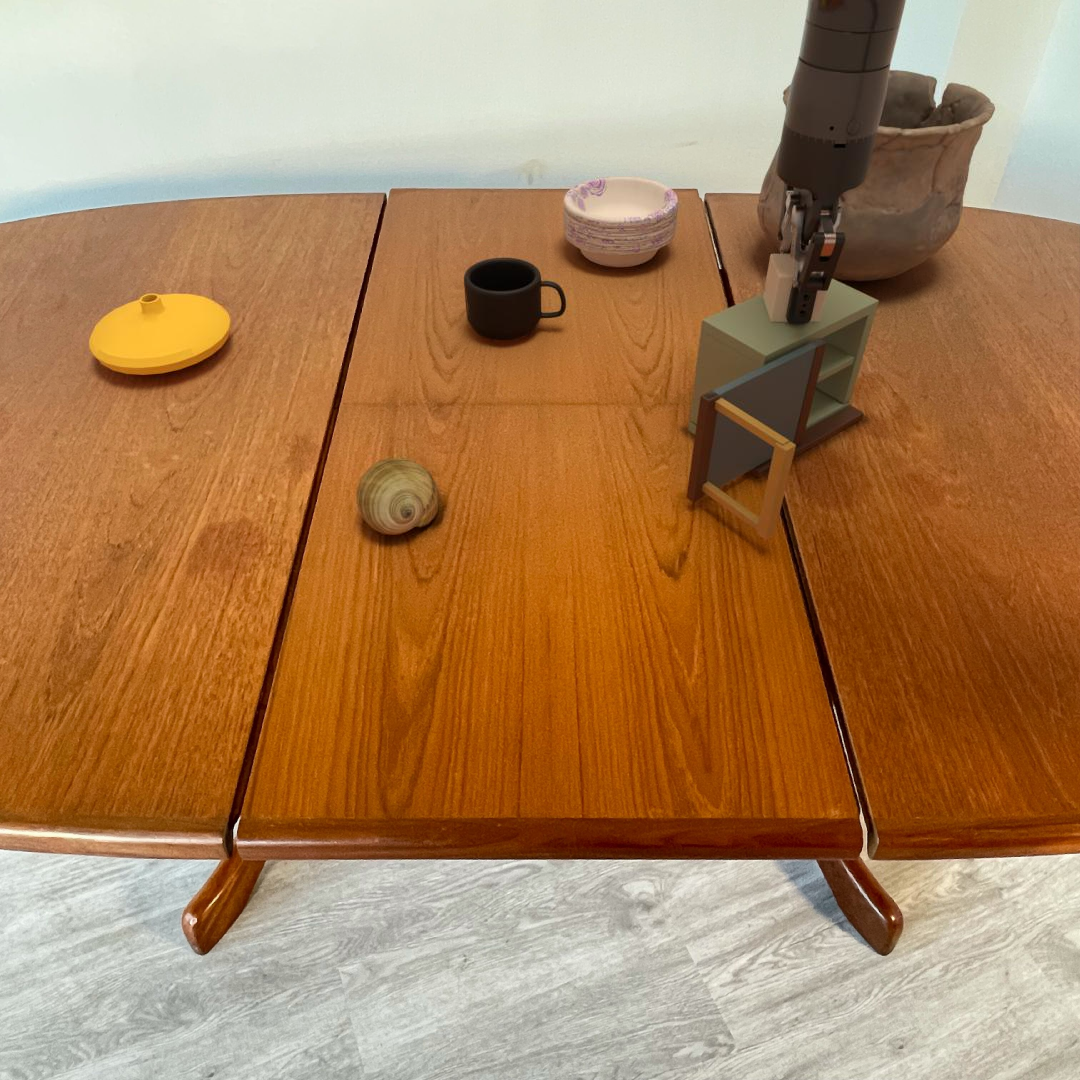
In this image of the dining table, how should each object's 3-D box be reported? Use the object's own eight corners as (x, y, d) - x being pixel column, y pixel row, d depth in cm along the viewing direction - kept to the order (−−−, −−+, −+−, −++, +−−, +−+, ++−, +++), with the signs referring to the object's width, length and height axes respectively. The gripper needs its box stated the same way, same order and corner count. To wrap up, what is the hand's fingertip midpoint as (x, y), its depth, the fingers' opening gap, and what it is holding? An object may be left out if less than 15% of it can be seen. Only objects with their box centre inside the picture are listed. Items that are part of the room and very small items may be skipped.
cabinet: (862, 419, 93) (895, 308, 84) (758, 478, 86) (781, 364, 77) (790, 377, 99) (814, 269, 90) (687, 430, 92) (702, 319, 83)
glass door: (868, 483, 84) (901, 381, 76) (758, 551, 77) (781, 447, 69) (795, 437, 89) (818, 337, 81) (686, 497, 83) (700, 395, 75)
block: (809, 297, 86) (819, 253, 82) (819, 322, 82) (830, 276, 79) (762, 298, 86) (770, 253, 82) (770, 322, 82) (779, 276, 79)
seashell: (386, 521, 88) (323, 487, 83) (426, 464, 88) (366, 425, 82) (428, 565, 81) (363, 531, 76) (472, 503, 81) (409, 464, 75)
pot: (920, 230, 125) (969, 66, 110) (960, 313, 108) (1024, 132, 94) (742, 224, 127) (767, 62, 112) (755, 305, 110) (786, 127, 96)
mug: (461, 346, 104) (456, 291, 99) (474, 308, 111) (470, 254, 106) (561, 351, 103) (562, 296, 98) (569, 313, 110) (570, 259, 105)
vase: (217, 389, 98) (200, 334, 93) (77, 391, 98) (52, 336, 93) (250, 317, 110) (236, 264, 105) (124, 319, 110) (104, 266, 105)
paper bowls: (580, 223, 128) (581, 168, 123) (683, 236, 125) (689, 180, 119) (548, 270, 118) (548, 212, 112) (660, 286, 114) (665, 227, 109)
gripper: (770, 91, 77) (741, 272, 89) (802, 152, 67) (765, 347, 79) (856, 91, 77) (815, 272, 89) (902, 152, 67) (849, 348, 79)
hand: (792, 306), depth 84 cm, fingers closed on block, 4 cm apart
